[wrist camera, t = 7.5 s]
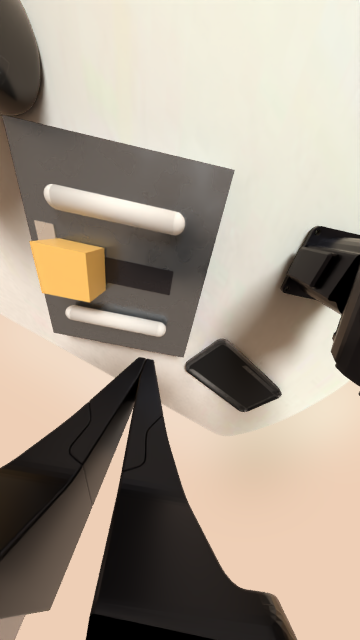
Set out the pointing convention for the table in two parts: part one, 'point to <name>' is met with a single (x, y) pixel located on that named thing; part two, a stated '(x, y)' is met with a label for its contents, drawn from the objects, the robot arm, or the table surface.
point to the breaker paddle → (69, 268)
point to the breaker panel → (124, 227)
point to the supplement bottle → (17, 60)
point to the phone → (232, 376)
